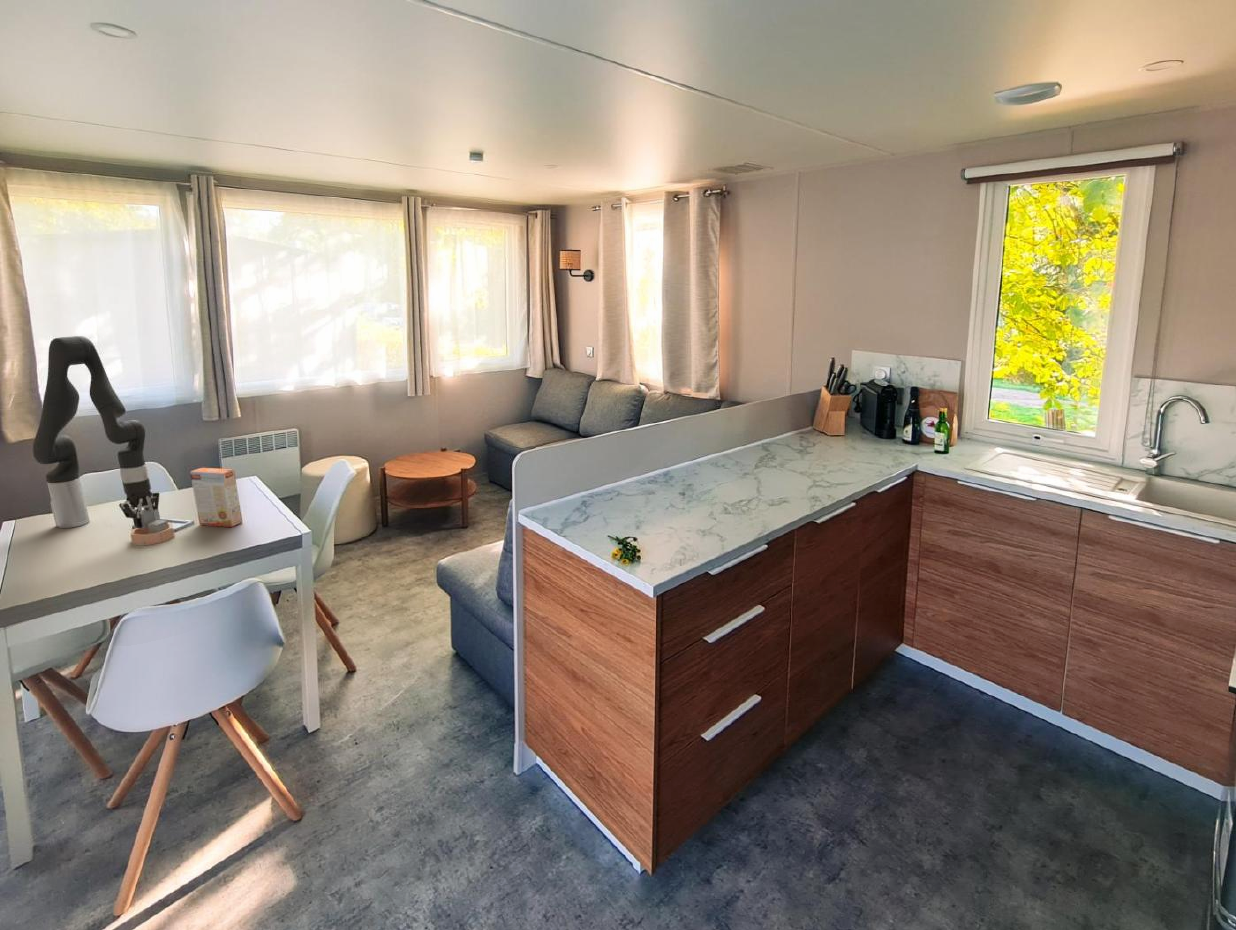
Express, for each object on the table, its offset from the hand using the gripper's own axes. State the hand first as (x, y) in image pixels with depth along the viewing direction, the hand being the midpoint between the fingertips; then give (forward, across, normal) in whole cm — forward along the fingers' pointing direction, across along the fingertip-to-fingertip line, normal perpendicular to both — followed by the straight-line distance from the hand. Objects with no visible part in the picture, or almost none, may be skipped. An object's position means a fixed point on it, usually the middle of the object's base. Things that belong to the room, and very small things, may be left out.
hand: (145, 525), depth 229 cm
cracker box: (+5, -17, +15) cm, 23 cm away
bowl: (+5, 0, +3) cm, 5 cm away
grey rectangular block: (+4, 0, +5) cm, 7 cm away
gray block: (+4, -11, -10) cm, 15 cm away
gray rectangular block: (+1, 0, 0) cm, 1 cm away
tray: (+5, -11, -4) cm, 13 cm away
